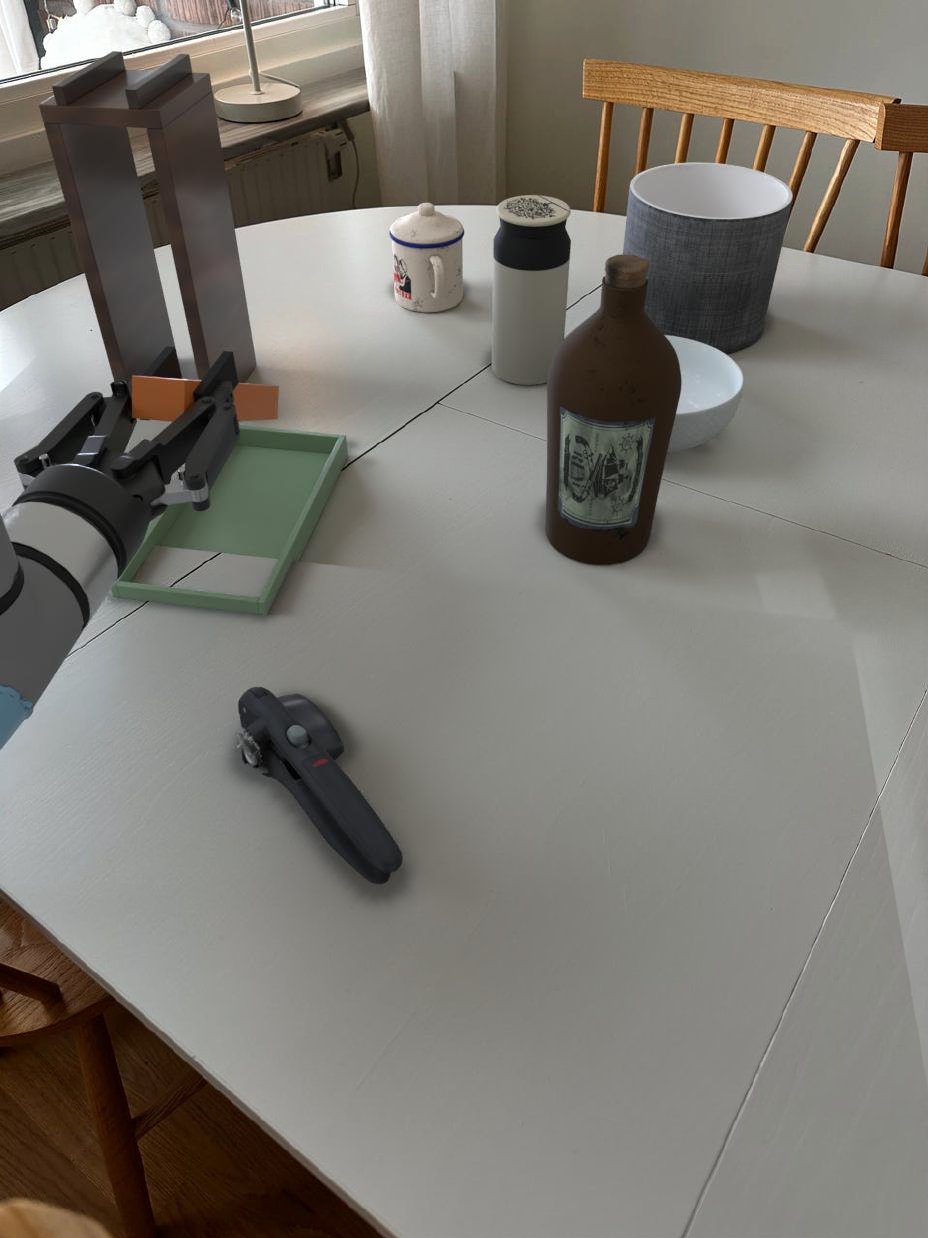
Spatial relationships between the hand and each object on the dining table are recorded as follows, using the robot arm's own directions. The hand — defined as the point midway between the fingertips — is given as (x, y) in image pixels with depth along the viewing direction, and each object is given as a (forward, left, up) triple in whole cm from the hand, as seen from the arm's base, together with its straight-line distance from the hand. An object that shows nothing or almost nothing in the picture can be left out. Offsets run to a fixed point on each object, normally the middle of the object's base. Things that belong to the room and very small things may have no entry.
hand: (202, 364), depth 77 cm
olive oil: (+32, +6, -17) cm, 37 cm away
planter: (+40, +50, -17) cm, 66 cm away
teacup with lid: (+8, +50, -17) cm, 53 cm away
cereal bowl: (+36, +24, -17) cm, 46 cm away
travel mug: (+22, +35, -17) cm, 44 cm away
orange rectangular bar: (0, 0, -5) cm, 5 cm away
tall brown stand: (-14, +25, -17) cm, 33 cm away
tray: (0, +2, -17) cm, 17 cm away
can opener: (+16, -27, -17) cm, 36 cm away
